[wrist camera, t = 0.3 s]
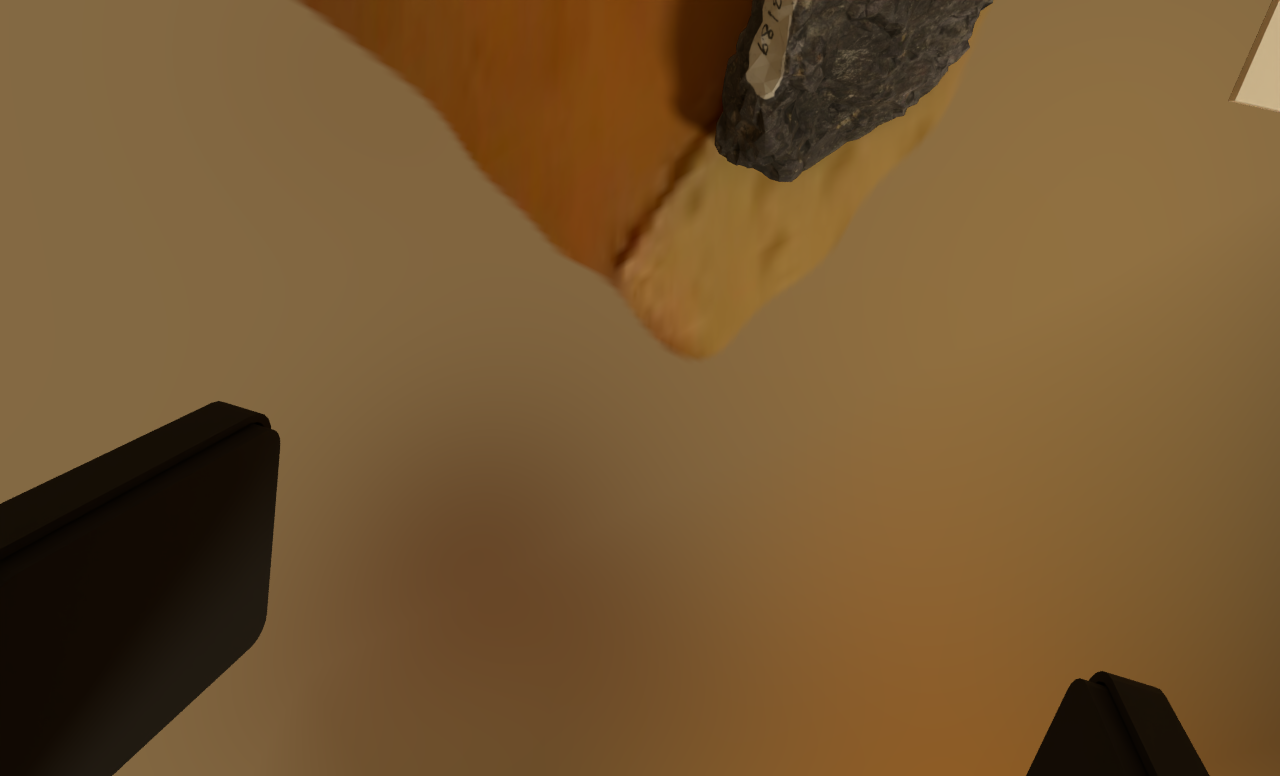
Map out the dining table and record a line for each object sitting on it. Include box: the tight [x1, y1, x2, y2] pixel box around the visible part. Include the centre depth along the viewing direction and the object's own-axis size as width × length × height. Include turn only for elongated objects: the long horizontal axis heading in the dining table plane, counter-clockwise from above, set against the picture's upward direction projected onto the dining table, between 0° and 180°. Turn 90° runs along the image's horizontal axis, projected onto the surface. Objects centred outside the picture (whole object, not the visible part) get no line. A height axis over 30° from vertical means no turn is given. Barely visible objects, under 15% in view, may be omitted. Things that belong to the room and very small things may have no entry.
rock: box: [715, 0, 993, 182], centre depth 32 cm, size 12×8×10 cm
